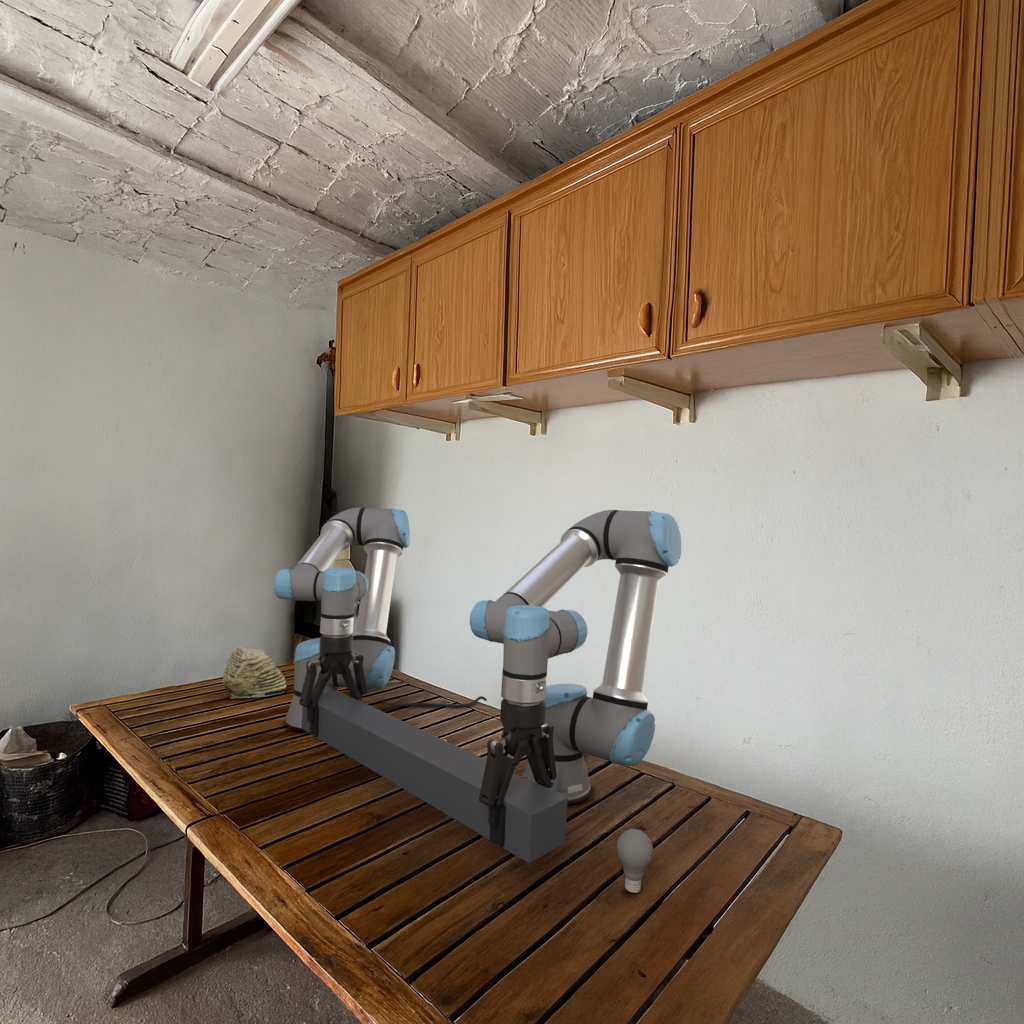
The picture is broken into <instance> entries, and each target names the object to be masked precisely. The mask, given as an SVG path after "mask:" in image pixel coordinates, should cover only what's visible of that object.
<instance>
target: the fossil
mask: <svg viewBox="0 0 1024 1024" xmlns="http://www.w3.org/2000/svg"><path fill="white" fill-rule="evenodd" d="M222 676H223V677H222V685H223V687H224V688H225V690H226V691H228V693H229V698H230V699H250V698H264V697H271V696H275V695H281V694H284V693H285V691H286V689H287V687H288V686H287V680H286V678H285V676H284V674H283V673H282V672H281V669H279V668H278V667H277V665H276V663H275V662H274V660H273V659H272V658H271V657H270V656H269V655H268V654H267V653H266V652H265V650H264V649H263V648H260V647H258V648H251V647H247V646H246V647H245V646H238V647H237V648H236V649H235V650H233V651H232V653H231V656H230V657H229V659H228V660H227V663H226V666H225V668H224V671H223V675H222Z"/></svg>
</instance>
